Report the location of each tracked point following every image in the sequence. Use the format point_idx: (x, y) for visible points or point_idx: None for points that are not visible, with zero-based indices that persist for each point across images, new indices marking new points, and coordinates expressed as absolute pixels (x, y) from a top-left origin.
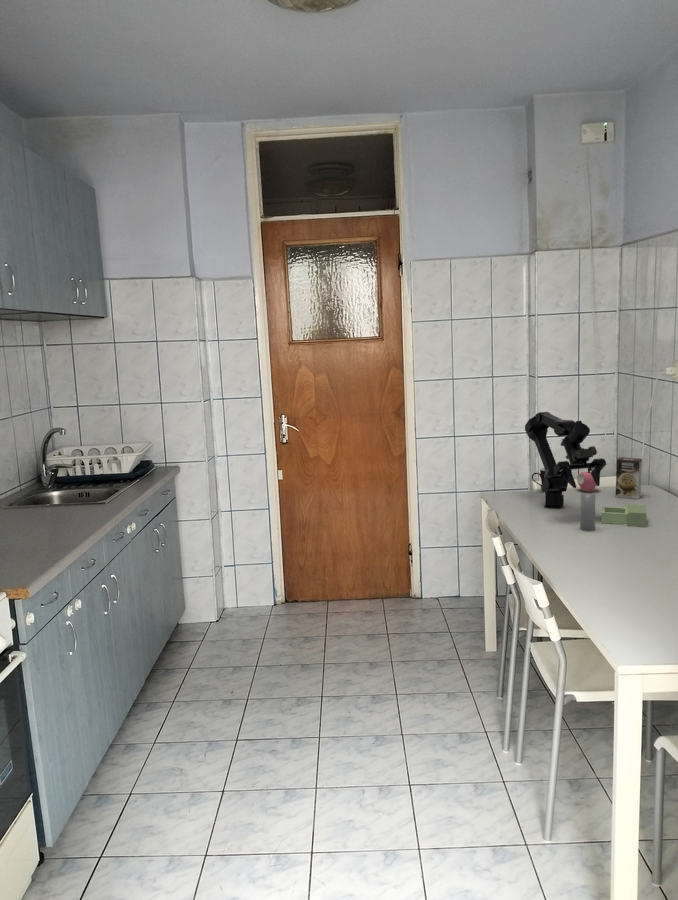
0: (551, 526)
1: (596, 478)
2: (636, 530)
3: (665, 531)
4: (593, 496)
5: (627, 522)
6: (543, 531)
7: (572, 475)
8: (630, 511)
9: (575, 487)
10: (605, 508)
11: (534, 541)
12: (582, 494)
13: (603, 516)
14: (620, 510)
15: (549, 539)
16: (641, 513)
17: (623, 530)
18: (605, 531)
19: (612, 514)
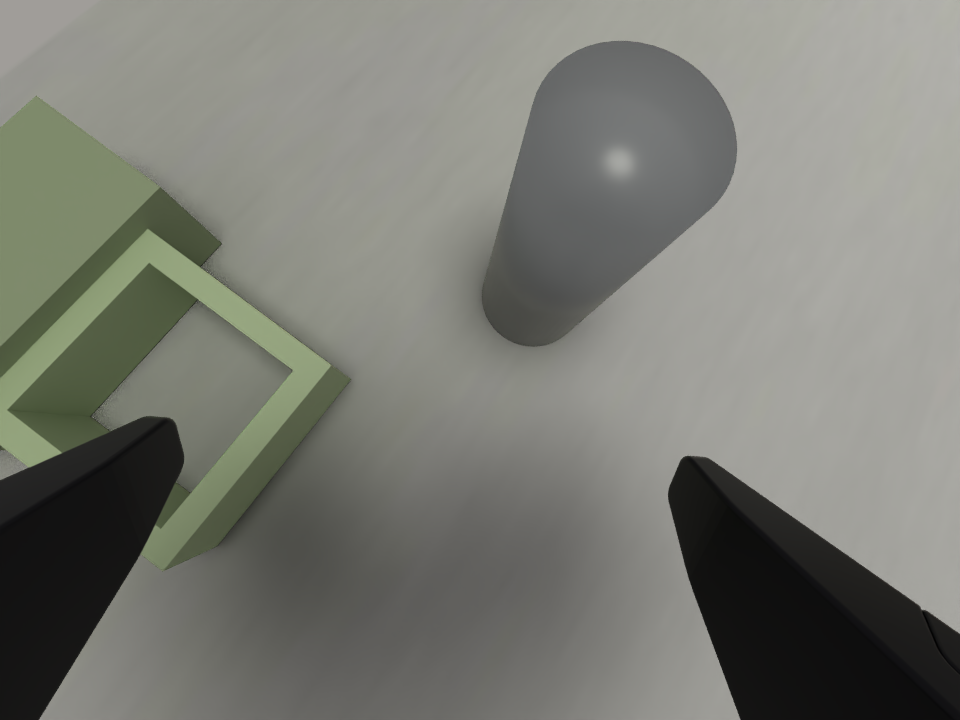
0: (731, 455)
1: (21, 571)
2: (250, 136)
3: (93, 42)
4: (605, 47)
5: (192, 261)
6: (832, 367)
7: (958, 715)
8: (115, 204)
9: (696, 460)
10: (163, 523)
11: (957, 207)
12: (699, 182)
13: (326, 361)
14: (61, 435)
15: (862, 204)
16: (72, 124)
17: (329, 171)
18: (454, 201)
19: (258, 312)
